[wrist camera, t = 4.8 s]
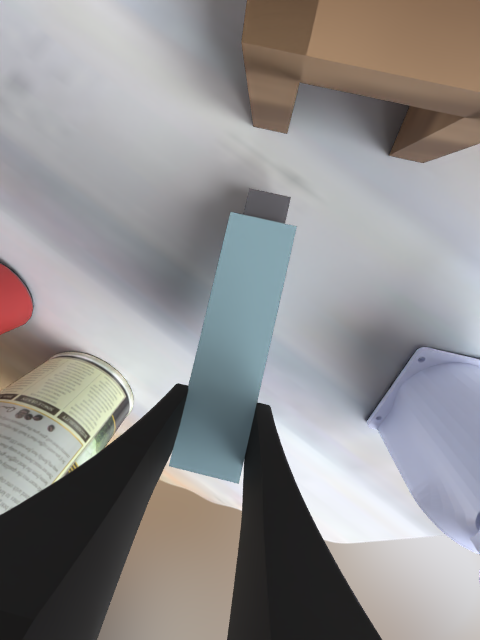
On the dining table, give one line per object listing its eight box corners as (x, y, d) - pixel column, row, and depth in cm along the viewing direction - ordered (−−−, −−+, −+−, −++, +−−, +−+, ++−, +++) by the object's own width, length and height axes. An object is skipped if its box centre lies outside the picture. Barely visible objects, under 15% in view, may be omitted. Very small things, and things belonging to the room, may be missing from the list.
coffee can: (145, 422, 25) (24, 628, 13) (69, 419, 27) (-109, 601, 14) (117, 349, 21) (-114, 553, 8) (27, 350, 22) (-287, 525, 10)
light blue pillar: (239, 441, 13) (238, 483, 9) (189, 428, 13) (169, 465, 9) (289, 224, 14) (305, 186, 10) (240, 213, 14) (240, 172, 10)
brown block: (423, 163, 12) (571, 111, 6) (253, 126, 12) (241, 42, 6) (470, 64, 10) (740, -138, 4) (271, 23, 11) (277, -226, 5)
